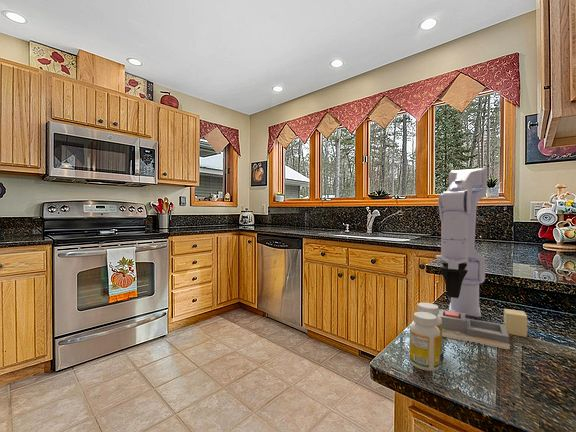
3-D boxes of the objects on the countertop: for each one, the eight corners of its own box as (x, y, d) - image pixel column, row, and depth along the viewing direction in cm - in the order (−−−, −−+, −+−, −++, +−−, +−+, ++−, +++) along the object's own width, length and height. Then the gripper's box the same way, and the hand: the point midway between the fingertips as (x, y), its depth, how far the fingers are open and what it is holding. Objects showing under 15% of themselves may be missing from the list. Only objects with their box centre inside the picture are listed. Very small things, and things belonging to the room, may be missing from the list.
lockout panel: (436, 321, 76) (437, 306, 76) (503, 333, 69) (503, 317, 69) (433, 334, 68) (434, 318, 68) (509, 350, 60) (509, 331, 60)
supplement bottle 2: (416, 371, 52) (417, 320, 52) (404, 357, 57) (405, 310, 57) (446, 372, 52) (446, 320, 52) (431, 357, 57) (431, 310, 57)
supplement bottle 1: (445, 358, 57) (446, 310, 57) (417, 355, 58) (417, 308, 58) (437, 346, 62) (437, 302, 62) (411, 343, 63) (411, 300, 63)
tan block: (503, 327, 72) (503, 308, 72) (523, 331, 70) (523, 311, 70) (506, 333, 69) (506, 313, 69) (527, 337, 67) (527, 316, 67)
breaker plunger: (445, 322, 72) (445, 310, 72) (458, 324, 71) (458, 312, 71) (444, 326, 70) (444, 314, 70) (458, 328, 68) (458, 316, 68)
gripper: (438, 236, 78) (437, 284, 79) (433, 240, 66) (433, 298, 66) (468, 237, 75) (467, 288, 75) (469, 242, 62) (468, 303, 62)
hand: (453, 293), depth 70 cm, fingers open, 7 cm apart
